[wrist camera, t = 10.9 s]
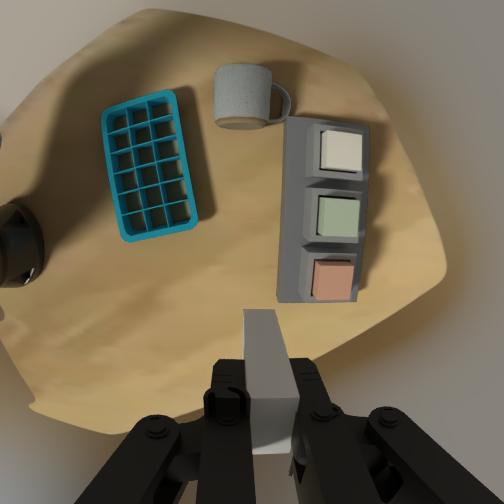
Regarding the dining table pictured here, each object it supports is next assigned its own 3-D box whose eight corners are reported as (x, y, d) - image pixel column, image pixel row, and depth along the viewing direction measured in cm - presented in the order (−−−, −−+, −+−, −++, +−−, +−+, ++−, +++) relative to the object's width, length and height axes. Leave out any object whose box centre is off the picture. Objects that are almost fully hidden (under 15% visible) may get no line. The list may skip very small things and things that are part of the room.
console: (276, 295, 45) (282, 314, 38) (284, 120, 40) (292, 108, 33) (349, 295, 46) (366, 312, 39) (361, 129, 40) (381, 121, 33)
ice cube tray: (129, 240, 43) (122, 244, 40) (107, 115, 38) (99, 111, 35) (202, 224, 43) (200, 227, 40) (178, 93, 38) (174, 87, 35)
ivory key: (316, 169, 37) (326, 167, 32) (317, 136, 36) (327, 130, 32) (348, 172, 37) (361, 170, 33) (348, 140, 36) (362, 135, 32)
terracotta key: (308, 288, 40) (316, 300, 36) (311, 256, 39) (320, 265, 35) (338, 288, 41) (349, 299, 36) (342, 257, 40) (353, 266, 35)
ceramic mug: (215, 132, 40) (211, 121, 32) (216, 80, 38) (213, 60, 30) (289, 133, 40) (301, 123, 33) (288, 82, 38) (299, 63, 31)
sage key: (313, 230, 39) (322, 235, 34) (315, 196, 38) (325, 198, 33) (344, 231, 39) (357, 237, 34) (346, 198, 38) (359, 200, 33)
